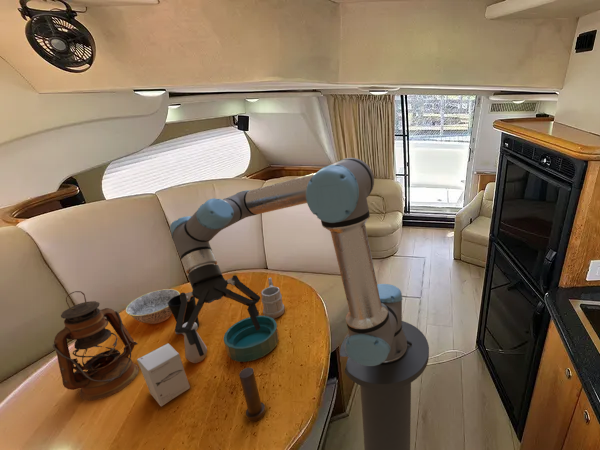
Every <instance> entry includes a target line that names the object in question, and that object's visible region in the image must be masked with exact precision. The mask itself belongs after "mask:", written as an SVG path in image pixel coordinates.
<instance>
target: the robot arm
mask: <svg viewBox="0 0 600 450" xmlns="http://www.w3.org/2000/svg"><path fill="white" fill-rule="evenodd" d="M374 185H375V175H374V173H373V171H372V168H371V167H370V165H368V164H367V163H366V161H364V160H363V159H360V158H356V157H346V158H342V159H340V160H339V161H335V162H334V163H331V164H329V165H325V166H324V167H321V168H320V169H319V170H318V171H317V172H314V173H310V174H306V175H303V176H299V177H295V178H292V179H288V180H284V181H281V182H276V183H272V184H269V185H264V186H262V187H258V188H254V189H249V190H242V191H239V192H236V193H235V194H233V195H231V196H227V197H225V198H215V197H213V198H210V199H208V200H206V201H205V202H204V203H203V204H201V205H200V206H199V207H198V209H197V210H196V211H195V212H194V213H193V214H192V215H188V216H182V217H179V218H177V219H175V220H173V221H172V222H171V223H170V225H169V231H170V233H171V239H172V241H173V243H174V246H175V248H176V250H177V253H178V255H179V257H180V261H181V263H182V265H183V268H184V270H185V273H186V274H187V278H188V282H189V284H190V286H191V289H192V291H190V292H180V299H181V305H180V309H179V314H178V318H177V322H176V323H175V328H174V334H175V335H181V334H182V335H183V334H186V336H187V339H188V342H189V344H190V345H193V344H196V347H197V350H198V352H199V355H200V357H201V356H203V355H204V353H203V350H202V347H201V345H200V342H199V339H198V337H197V334H196V331H197V330H196V331H195V329H193V330H191V329H192V327H193V325H194V323H195V321H196V319H197V317H198V318H199V314H200V312H201V310H202V308H203V307H204V305H205V304H211V303H213V302H214V301H218V300H219V301H220V300H221V299H222V298H223V297H224V298H228V299H230V300H233V301H235V302H237V303H239V304H241V305H244V306H246V307H247V313H248V315H249V317H251V319H252V322H253V324H254V327H255V329H256V331H257V330H259V329H260V325H259V322H258V320H257V318H256V317H258V316H260V312H259V310H258V308H257V305H256V304H258V303H259V302H260V299H261V296H260V295H258V294H257V293H256V292H254V291H253V290H252V289H251V288H249V287H248V286H247V285H246V284H245V283H243V282H242V281H241V280H240V279H239V277H238V275H236V274H234V275H232V277H231V278H228V279H226V278H225V277H224V276H223V273H222V271H221V268H220V266H219V264H218V261H217V259H216V256H215V254H214V252H213V249H212V247H211V243H210V241H211V240H213V238H215V236H217V235H218V234H219V233H220V232H221V231H223V230H224V229H226V228H229V227H230V226H232V225H234V224H236V223H238V222H241V221H242V220H244V219H246V218H249V217H253V216H257V215H262V214H265V213H270V212H273V211H278V210H283V209H287V208H291V207H295V206H299V205H300V206H301V205H304V204H307V206H308V208H309V211H310V212H311V213H312V214H313V215H315V216H316V218H317V219H318V220H320V222H321V226H322V228H324V229H325V230H328V231H329V232H330V237H331V241H332V244H333V248H334V253H335V257H336V260H337V265H338V270H339V273H340V278H341V281H342V285H343V289H344V294H345V299H346V302H347V306H348V310H349V311H347V313H346V315H345V323H346V327H347V331H348V334H349V337H348V338H347V340H346V344H345V350H346V353H347V355H348V356H349V357H350V358H351V359H352V360H353V361H356V362H357V363H359V364H361V365H365V366H376V365H379V364H381V365H386V364H392V363H395V362H397V361H399V360H400V359H401V358H403V357H404V355H405V354H406V351H407V344H409V345H412V343H411V342H409V341H407V339H406V337H405V334H404V332H403V329H402V321H403V294H402V290H401V289H400V288H399V287H397V286H396V285H394V284H389V283H377V277H376V272H375V266H374V262H373V256H372V251H371V247H370V242H369V237H368V232H367V227H366V223H367V221H369V219H370V216H371V215H370V214H371V213H370V209H369V204H368V199H367V198H369V196H370V195H371V193H372V192H373V190H374V187H375V186H374ZM228 285H230V286H232V287H234V288H236V289H237V290H239V291H240V292H241V293H243V294H244V295H245V296H243V295H241V294H239V293H236V292H234V291H232V290H231V289H229V288H228ZM192 296H193V297H195V299H197V302H196V306H195V308H194V310H193V312H192V315H191V317H190V319H189V321H188V323H187V325H186V327H182V326H183V321H184V317H185V312H186V308H187V302H188V301H190V298H191V297H192Z"/></svg>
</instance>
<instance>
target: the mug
mask: <svg viewBox="0 0 600 450" xmlns="http://www.w3.org/2000/svg"><path fill="white" fill-rule="evenodd" d="M267 280H268V287H265V288H264V289H262V290H261V293H260V294H261V304H262V313H263V316H268V317H271V318H273V319H277V318H280V317H281V316H282V315H284V314H285V304H284V303H283V296H282V293H281V290H280V288H279V287H278V286H276V285H274V283H273V278H272V277H268V278H267Z"/></svg>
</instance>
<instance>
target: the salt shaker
mask: <svg viewBox="0 0 600 450" xmlns="http://www.w3.org/2000/svg"><path fill="white" fill-rule="evenodd" d="M187 323H188V322H187ZM187 323H185V324H183V326H182V327H186V325H187ZM198 328H199V327H197V324H196V322H195V323H194V325H193V327H192V329H191V330H193V329H195V331H196V334H197V337H198V339H199V342H200V345H201V347H202V350H203V353H204V355H203V356H201V357H200V355H199V352H198V350H197V347H196V344H193V345H190V344H189V342H188V339H187V336H186V334H182V335H183V339H184V357H185V359H186V360H187V361H189V362H190V363H193V364H197V363H200V362H202V361H204V360H205V358H206V357H207V354H208V347H207V345H206V343H205V342H204V340H203V339H202V337H201V336H200V334H199V333H198V331H197V330H198Z"/></svg>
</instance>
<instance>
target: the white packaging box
mask: <svg viewBox="0 0 600 450" xmlns="http://www.w3.org/2000/svg"><path fill="white" fill-rule="evenodd" d="M136 361H137V364H138V367H139V370H140V371H141V374H142V377H143V378H144V382H145V384H146V386H147V389H148V392H149V394H150V396H152V397H153V399H154V400H155V402H156V403H157V404H158V405H159V406H160V407H161V408H162V407H163V406H165V405H166V404H168V403H170V401H172V400H173V399H175V398H177V397H178V396H180V395H182V394H183V393H185V392H186V391H188V390H189V389H191V385H190V382H189V380H188V377H187V374H186V371H185V368H184V364H183V361H182V358H181V355H180V353H179V352H178V351H177V350H176V349H175V348H174V347H173V346H172V345H171V344H170V343H165V344H163V345H162V346H160V347H158V348H156V349H154V350H152V351H150V352H148V353H146V354H145V355H143V356H140V357H138V358H136Z"/></svg>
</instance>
